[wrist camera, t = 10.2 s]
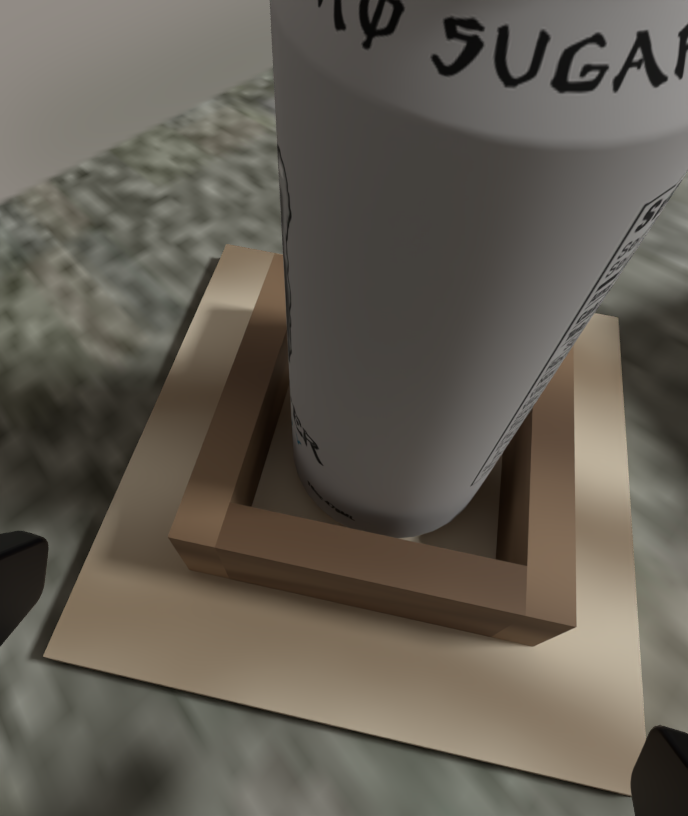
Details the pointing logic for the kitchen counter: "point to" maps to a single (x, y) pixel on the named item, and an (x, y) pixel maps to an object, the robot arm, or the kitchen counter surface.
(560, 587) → the socket board
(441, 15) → the energy drink can
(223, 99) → the kitchen counter surface
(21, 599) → the robot arm
